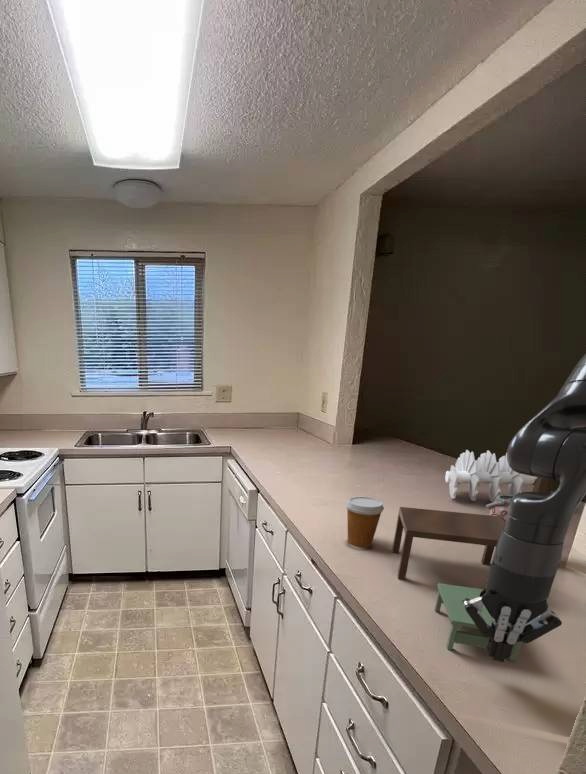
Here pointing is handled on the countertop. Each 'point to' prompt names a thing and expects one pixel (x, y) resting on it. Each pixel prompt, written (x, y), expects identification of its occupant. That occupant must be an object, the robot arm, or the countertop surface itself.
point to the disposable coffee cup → (363, 519)
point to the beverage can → (500, 506)
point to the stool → (465, 617)
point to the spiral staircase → (485, 475)
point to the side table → (445, 531)
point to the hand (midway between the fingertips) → (496, 657)
